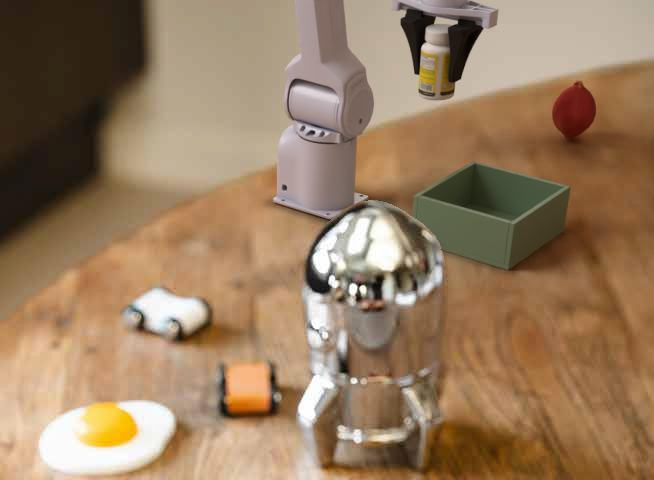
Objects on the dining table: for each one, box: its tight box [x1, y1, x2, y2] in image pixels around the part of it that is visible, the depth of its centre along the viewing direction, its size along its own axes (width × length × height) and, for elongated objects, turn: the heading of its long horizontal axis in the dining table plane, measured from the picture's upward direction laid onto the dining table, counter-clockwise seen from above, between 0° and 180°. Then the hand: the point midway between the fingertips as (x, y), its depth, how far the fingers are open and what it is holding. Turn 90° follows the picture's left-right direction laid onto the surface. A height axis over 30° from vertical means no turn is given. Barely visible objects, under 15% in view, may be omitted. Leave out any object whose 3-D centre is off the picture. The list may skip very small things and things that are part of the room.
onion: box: [551, 79, 597, 140], centre depth 164 cm, size 6×6×8 cm
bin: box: [411, 160, 572, 271], centre depth 142 cm, size 13×13×6 cm
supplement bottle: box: [417, 23, 456, 101], centre depth 157 cm, size 5×5×8 cm
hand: (437, 76), depth 158 cm, fingers closed on supplement bottle, 5 cm apart
